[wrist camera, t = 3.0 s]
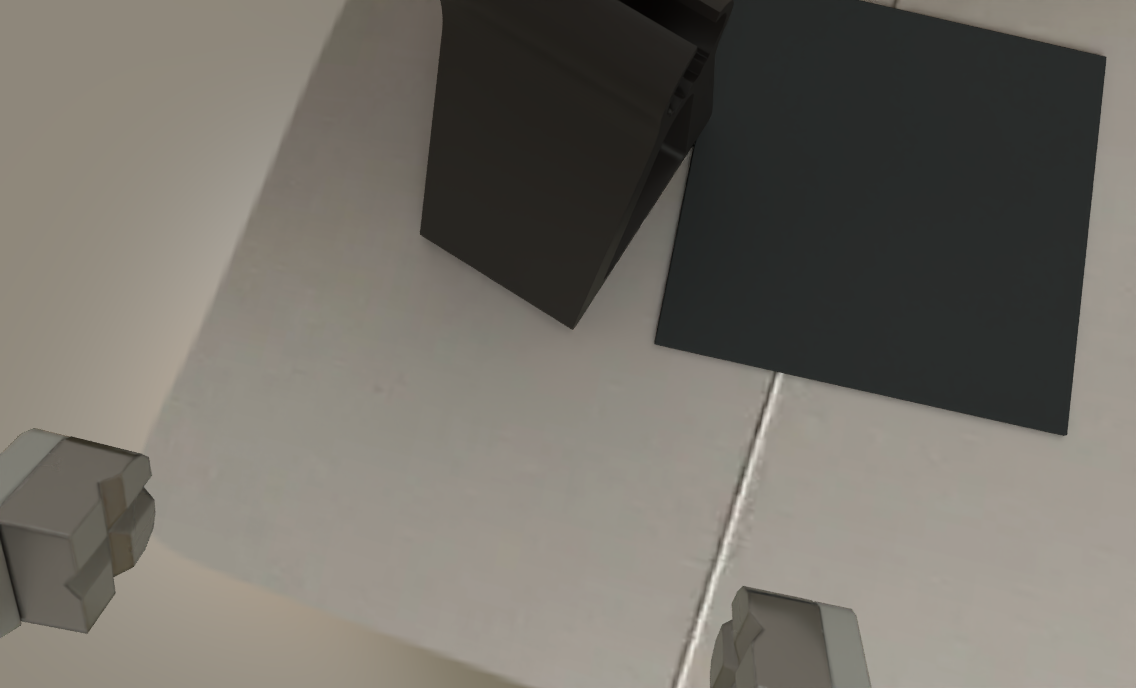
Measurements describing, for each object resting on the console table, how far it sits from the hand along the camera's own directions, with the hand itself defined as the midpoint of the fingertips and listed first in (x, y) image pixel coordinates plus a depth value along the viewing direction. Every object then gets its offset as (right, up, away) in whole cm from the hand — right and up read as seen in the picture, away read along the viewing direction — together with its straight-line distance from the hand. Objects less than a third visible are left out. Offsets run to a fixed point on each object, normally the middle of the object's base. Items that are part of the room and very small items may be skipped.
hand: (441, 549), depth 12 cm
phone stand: (+2, +8, +18) cm, 20 cm away
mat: (+13, +8, +19) cm, 24 cm away
